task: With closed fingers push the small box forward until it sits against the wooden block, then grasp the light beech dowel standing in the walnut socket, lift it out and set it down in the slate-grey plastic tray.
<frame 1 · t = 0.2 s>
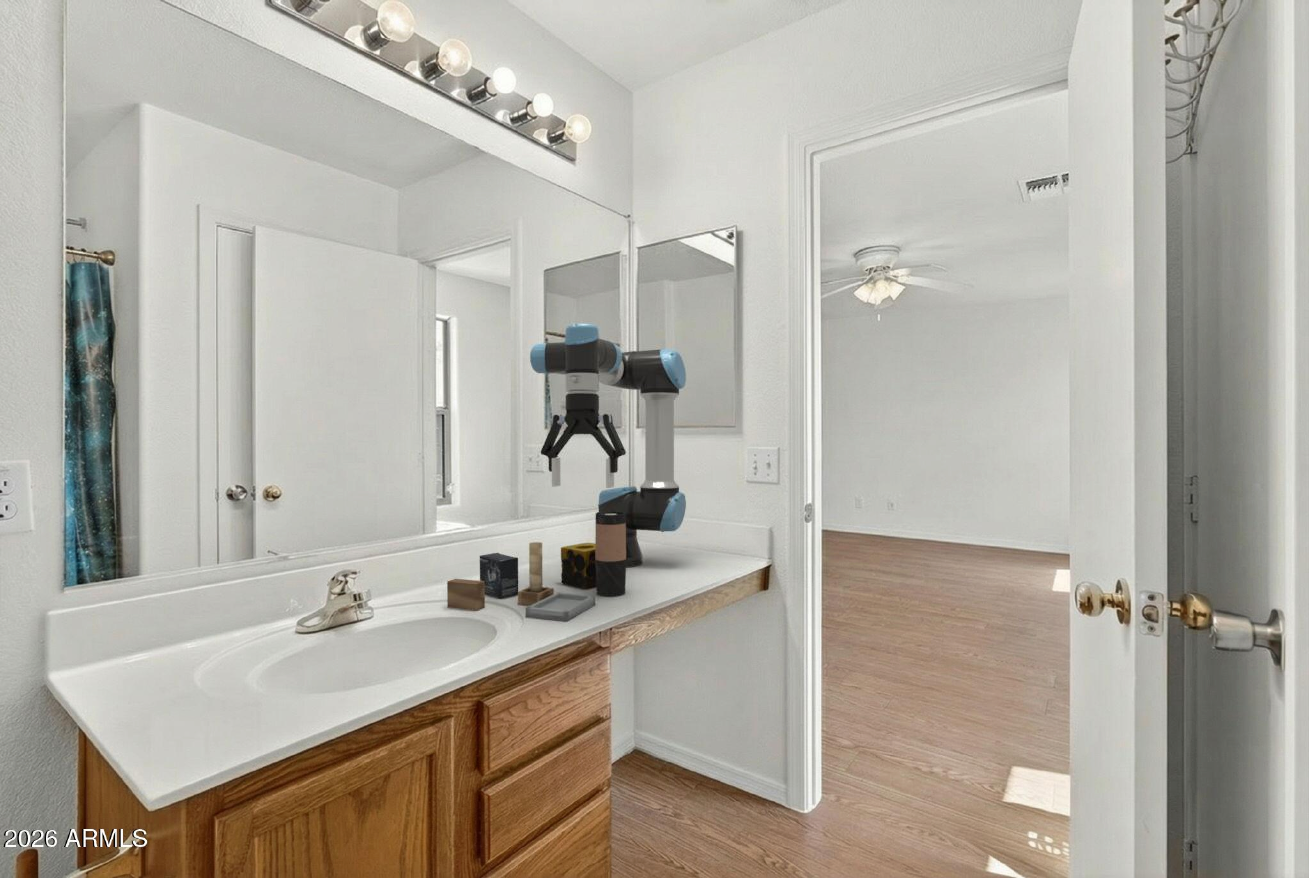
hand: (582, 487, 143), 28 cm above the worktop, fingers open, 13 cm apart
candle: (587, 584, 167), on the worktop
travel mug: (610, 593, 157), on the worktop
dowel: (535, 572, 148), in the socket
socket: (536, 602, 148), on the worktop
box: (498, 594, 157), on the worktop
wooden block: (466, 607, 144), on the worktop
tray: (561, 610, 141), on the worktop
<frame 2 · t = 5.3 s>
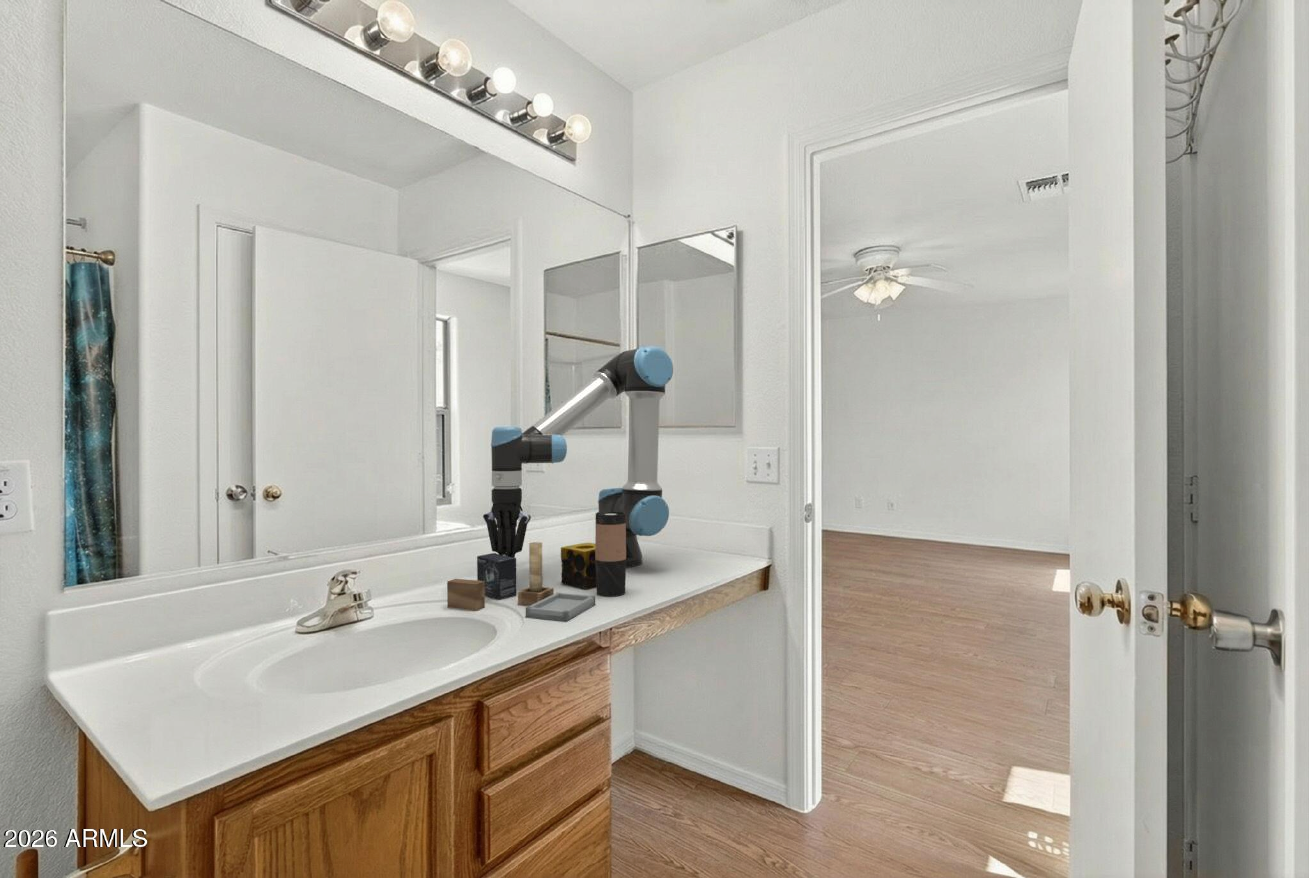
hand: (506, 579, 160), 3 cm above the worktop, fingers closed
box: (496, 595, 156), on the worktop, touching gripper
everything else where it was.
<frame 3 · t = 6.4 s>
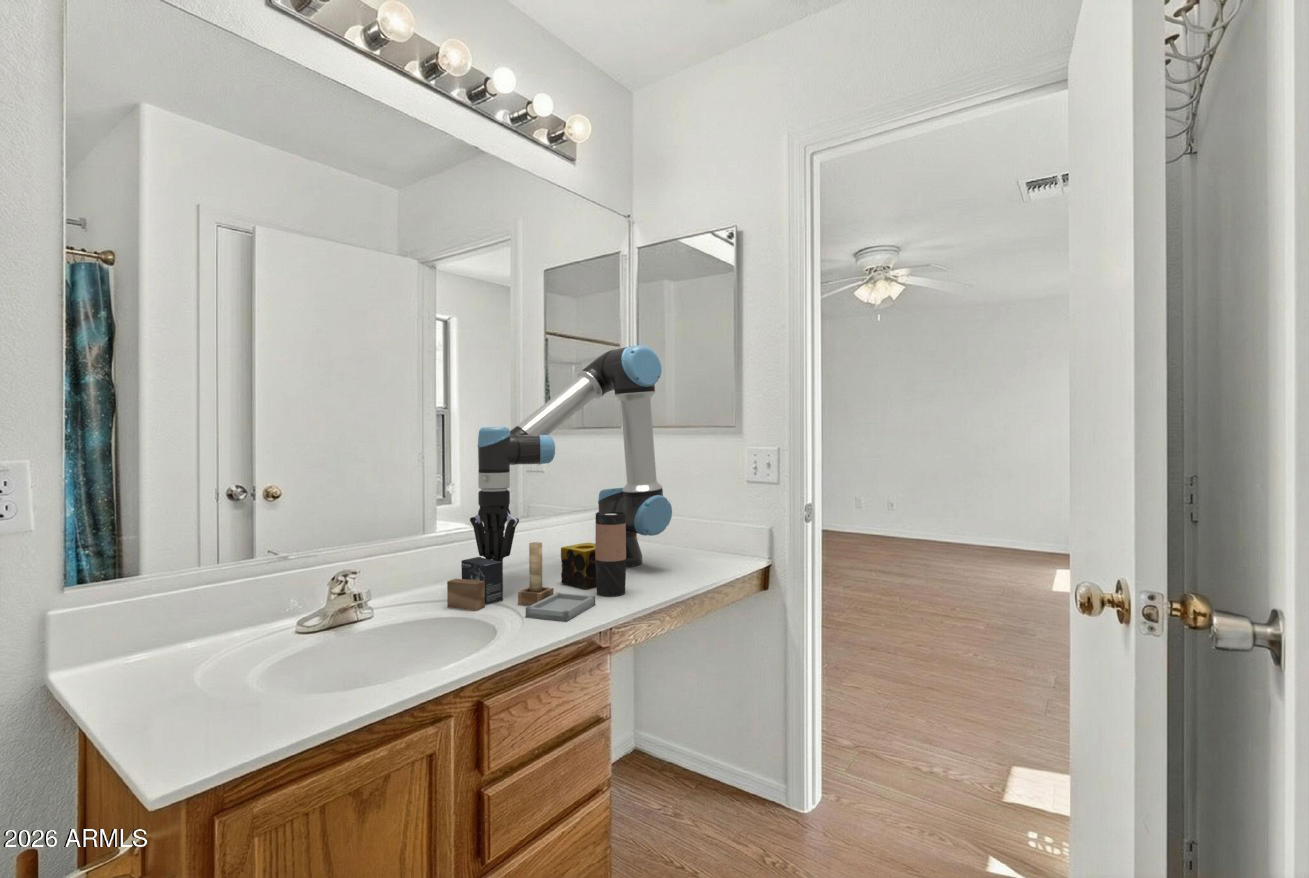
hand: (494, 585, 155), 3 cm above the worktop, fingers closed
box: (482, 600, 151), on the worktop, touching gripper
everything else where it was.
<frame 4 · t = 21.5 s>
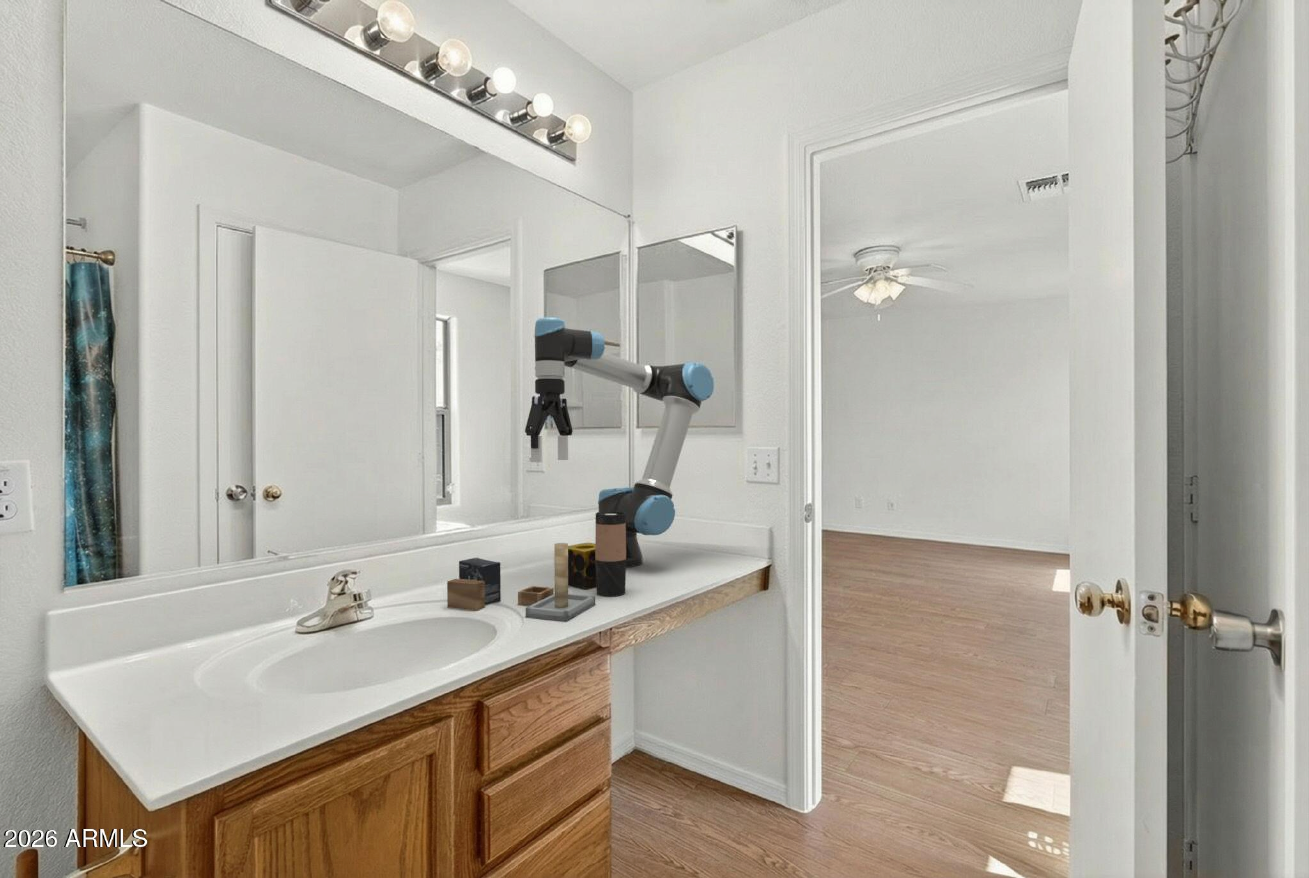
hand: (550, 461, 163), 33 cm above the worktop, fingers open, 13 cm apart
dowel: (561, 575, 141), in the tray, point 8 cm above the worktop
box: (479, 601, 150), on the worktop
everything else where it was.
at the end: box inside the target area (1.9 cm from its centre), on the worktop; dowel inside the target area on the tray (0.0 cm from its centre), point 8.0 cm above the tray's base; the gripper is holding nothing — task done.
